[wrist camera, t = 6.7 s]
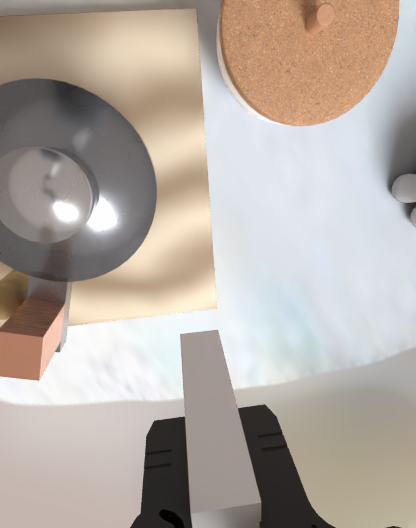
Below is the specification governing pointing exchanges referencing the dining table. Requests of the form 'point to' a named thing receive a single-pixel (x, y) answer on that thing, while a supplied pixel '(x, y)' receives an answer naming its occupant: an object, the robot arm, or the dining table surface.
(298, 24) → the lidded jar
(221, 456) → the robot arm
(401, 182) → the round bodied animal figurine
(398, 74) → the dining table surface
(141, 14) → the flange base
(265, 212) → the dining table surface
